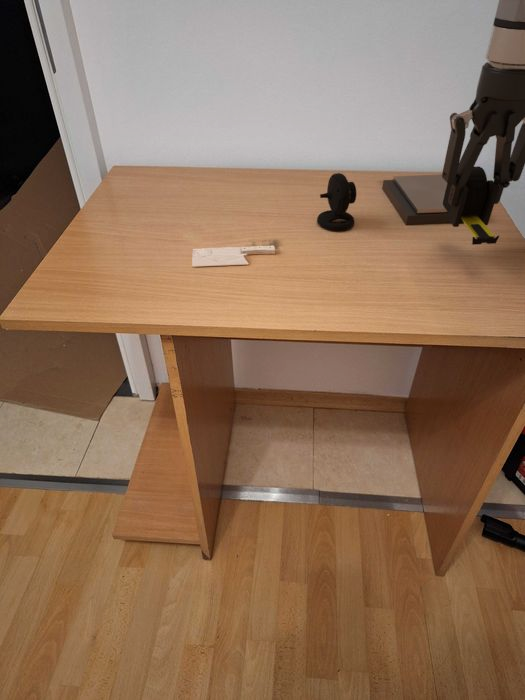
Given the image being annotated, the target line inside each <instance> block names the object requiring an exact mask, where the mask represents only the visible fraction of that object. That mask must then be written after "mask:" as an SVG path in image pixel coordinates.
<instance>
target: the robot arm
mask: <svg viewBox="0 0 525 700" xmlns="http://www.w3.org/2000/svg"><path fill="white" fill-rule="evenodd" d="M493 19H494V20H493V24H492V27H491V31H490V34H489V40H488V43H487V47H486V50H485V55H484V59H486V61H487V62H485V63H484V64H483V65H482V66H481V70H480V75H479V79H478V83H477V86H476V92H475V98H474V99H473V102H472V103H471V104H470V106H469V109H467V110H465V111H463V112H460V113H457V112H453V113H451V114H450V116H449V125H450V135H449V138H448V144H447V148H446V153H445V158H444V164H443V168H442V173H441V175H442V178H443V179H444V180H445V181H446V182H447V183H448V184H449V185H452V186H451V190H450V194H449V198H448V202H449V204H450V205H451V210H450V214H449V217H448V220H449V222H450V223H449V224H450V225H452V227H453V228H458V227H459V226H460V224H459V223H460V219H461V215H462V212H463V208H464V204H465V201H466V197H467V193H468V190H469V188H468V187H467V186H466V185H465V184H466V182H467V180H468V178H469V176H470V173H471V171H472V169H473V167H475V165H476V163H477V161H478V160H479V157H480V155H481V153H482V150H483V148H484V146H485V145H487V144H488V142H489V140H490V139H491V138H492V137H495V138H496V142H495V151H494V152H495V153H494V154H495V155H494V163H493V164H494V165H493V174H492V175H493V177H492V178H493V180H492V179H490V180H489V179H487V196H486V200H485V203H484V205H483V208H482V213H481V217H480V219H481V221H482V222H483V223H484V224H485V225H486V226H488V225H489V221H490V219H491V216H492V212H493V211H494V210H493V209H494V206H495V205H498V204H499V203H500V201H501V198H502V195H503V192H504V189H506V188H509V186H510V185H511V183H510V182H518V181H519V180H520V179H521V176H522V173H523V172H524V171H523V170H524V167H525V0H498V3H497V8H496V12H495V16H494V18H493ZM470 121H472V123H473V127H472V129H471V131H470V134H469V140H468V142H467V144H466V146H465V149H464V151H463V148H464V143H465V138H466V131H467V130H466V129H468V128H469V125H470ZM521 122H522V124H521V126H520V128H519V131H518V134H517V137H516V139H515V135H516V128H517V126H518V125H519V124H520V123H521ZM514 141H515V143H514V146H513V142H514ZM512 146H513V148H512Z"/></svg>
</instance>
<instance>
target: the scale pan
mask: <svg viewBox="0 0 525 700" xmlns="http://www.w3.org/2000/svg"><path fill="white" fill-rule="evenodd" d="M392 180H394V182H395V183H396V185H397V186H398V187H399V189H400V190H401V192H402V193H403V194H404V196H405V197H406V199H407V200H408V201H409V203H410V204H411V205H412V207H413V208H414V210H415V211H416V212H417V213H437V212H447V210H446V209H445V208H444V206H443V199H444V195H445V191H446V187H447V182H446V181H445V180H444V179H443V178H442V174H423V175H394V176H393V177H392Z"/></svg>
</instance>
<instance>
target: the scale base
mask: <svg viewBox="0 0 525 700" xmlns="http://www.w3.org/2000/svg"><path fill="white" fill-rule="evenodd" d="M381 189H382V190H383V193H384V194H385V195H386V197H387V198H388V200H389V201H390V203H391V205H392V207H394V209H395V210H396V212H397V214H398V216H400V218H401V220H402V221H403V223H404V224H405V226H414V225H416V226H417V225H436V224H437V225H438V224H441V225H442V224H451V223H450V222H449V220H448V217H449V213H448V212H437V213H417V212H416V211H415V210H414V208H413V207H412V205H411V204H410V203H409V201H408V200H407V199H406V197H405V196H404V194H403V193H402V192H401V190H400V189H399V187H398V186H397V185H396V183H395V182H394V180H393V179H383V181H382V188H381Z"/></svg>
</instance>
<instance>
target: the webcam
mask: <svg viewBox="0 0 525 700" xmlns="http://www.w3.org/2000/svg"><path fill="white" fill-rule="evenodd" d="M326 190H327V192H325V193H320V194H319V198H320V199H327V203H328V205H329V208H330V210H324V211H322V212H320V213H319V214H318V215H317V217H316V222H317V224H318V226H319V227H321V228H322V229H324V230H327V231H330V232H343V231H347V230H349V229H351V228H352V227H353V226H354V225H355V217H354V216H353V215H352V214H351V213H349V212H347V211H348V208H349V206H350V205H351V204H354V203H356V200H357V187H356V184H355V182H354V181H348V179H347V177H346V175H345V174H343V173H342V172H341V173H340V172H338V173H337V172H336V173H333V174H332V175H331V176H330V177H329V178H328V184H327V189H326ZM339 220H344V221H346V222H343V223H334V221H339Z"/></svg>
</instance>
